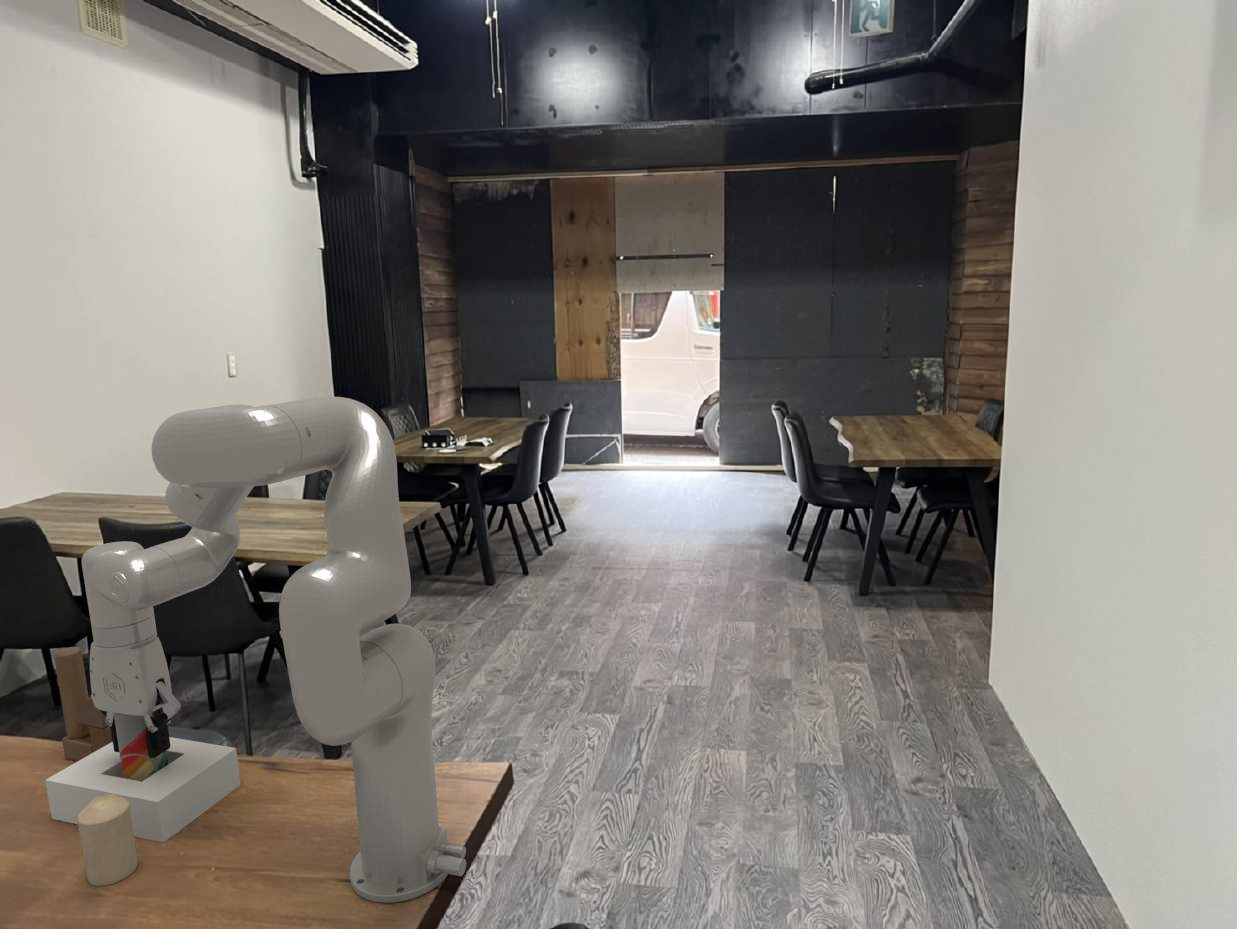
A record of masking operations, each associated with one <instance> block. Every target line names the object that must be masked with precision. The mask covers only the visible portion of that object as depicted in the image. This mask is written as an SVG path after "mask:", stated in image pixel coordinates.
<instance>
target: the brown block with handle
mask: <svg viewBox="0 0 1237 929" xmlns="http://www.w3.org/2000/svg"><path fill="white" fill-rule="evenodd" d="M82 652H83V651H82V649H81V648H80V647H79V646H70V647H63V648H62V649H58V650H57V651H55V652H54V655H53V657H54V665H55V669H56V676H57V682H58V687H59V695H60V702H61V708H62V713H63V720H64V726H65V733H66V735H65V736H64V737H62V739H61V741H62V746H63V753H64V757H65V759H69V760H71V761H76V762H78V761H80V760H81V759H83V758H85V757H87V756H88V755H90V754H92V753H94V752H95V751H97V750H99V749H101V748H102V747H104V746H106V745H108V744H109V743H111V742H113V741H112V735H111V728H110V727H111V726H112V725H111V726H109V725H107V723H106V717H105V715H104V714H103V713H102V712H101V711H100V710H99V709H97V708H96V707H95V706H94V703H93V700H92V699H91V696H92V693H91V694H90V696H89V692H88V685H87V684H88V683H87V678H86V671H85V665H84V659H83V653H82Z"/></svg>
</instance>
